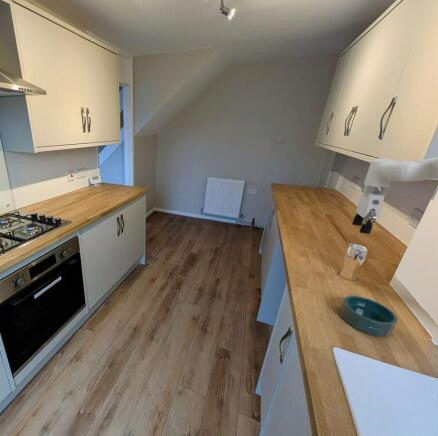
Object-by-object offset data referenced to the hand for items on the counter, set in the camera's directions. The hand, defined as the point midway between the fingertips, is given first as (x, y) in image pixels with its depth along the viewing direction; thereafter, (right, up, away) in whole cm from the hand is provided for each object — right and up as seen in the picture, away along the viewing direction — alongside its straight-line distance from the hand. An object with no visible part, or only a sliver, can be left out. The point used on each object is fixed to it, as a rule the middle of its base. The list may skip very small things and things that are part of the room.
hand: (360, 229), depth 101 cm
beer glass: (0, -22, +7) cm, 23 cm away
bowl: (-16, -32, -19) cm, 40 cm away
